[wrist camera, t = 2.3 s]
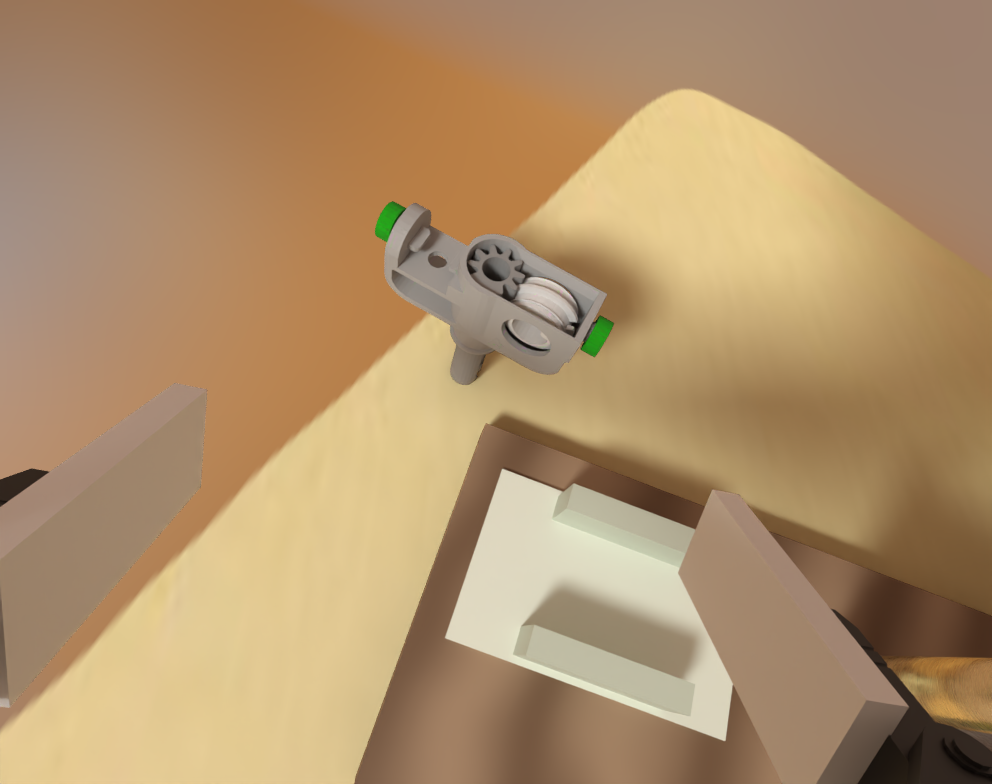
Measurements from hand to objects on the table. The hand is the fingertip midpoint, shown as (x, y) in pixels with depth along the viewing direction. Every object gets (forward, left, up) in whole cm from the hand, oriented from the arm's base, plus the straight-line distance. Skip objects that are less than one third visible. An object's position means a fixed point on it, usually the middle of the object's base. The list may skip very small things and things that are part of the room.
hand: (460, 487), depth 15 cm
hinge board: (-16, +1, -14) cm, 21 cm away
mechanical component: (+1, -10, -14) cm, 17 cm away
